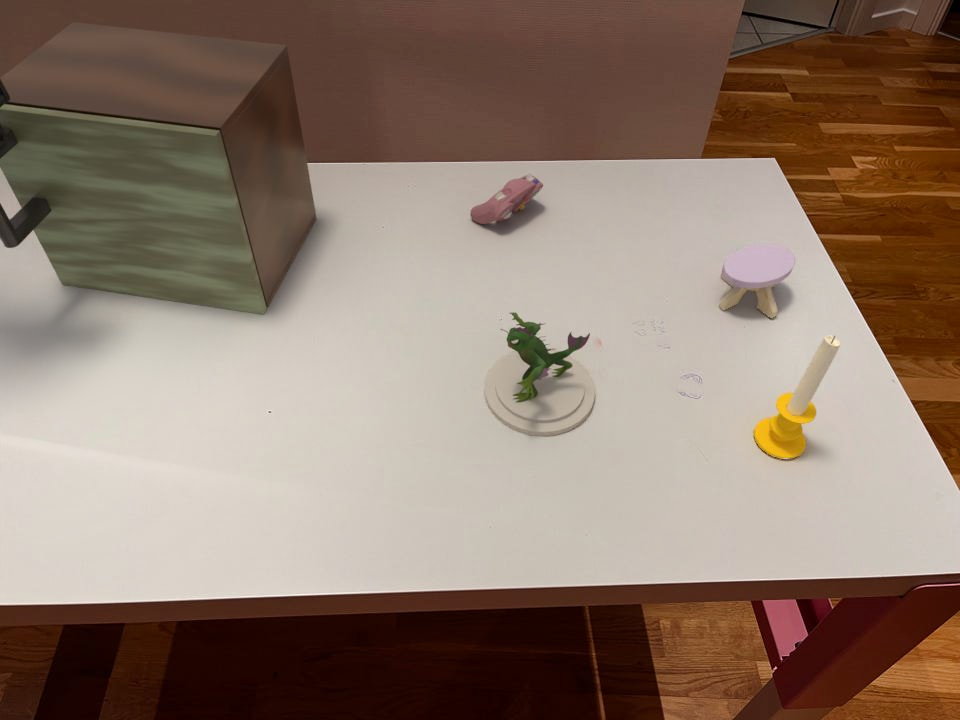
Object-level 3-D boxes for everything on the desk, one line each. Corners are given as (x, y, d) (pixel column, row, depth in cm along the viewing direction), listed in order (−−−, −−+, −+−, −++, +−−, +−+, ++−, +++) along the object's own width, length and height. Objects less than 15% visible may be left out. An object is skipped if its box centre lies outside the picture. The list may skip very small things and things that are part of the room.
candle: (784, 414, 80) (839, 310, 68) (815, 452, 76) (878, 349, 65) (743, 427, 78) (792, 323, 67) (772, 466, 75) (829, 363, 64)
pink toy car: (486, 241, 101) (506, 213, 95) (465, 216, 101) (483, 186, 95) (533, 210, 106) (554, 181, 100) (512, 186, 106) (532, 156, 100)
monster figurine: (480, 354, 85) (482, 287, 77) (583, 350, 85) (596, 283, 78) (488, 439, 77) (491, 373, 69) (603, 433, 77) (618, 368, 70)
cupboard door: (241, 355, 83) (183, 175, 66) (29, 322, 86) (-80, 141, 69) (267, 308, 89) (219, 130, 71) (66, 279, 91) (-27, 100, 74)
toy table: (731, 330, 88) (744, 294, 84) (692, 281, 94) (704, 246, 90) (800, 312, 90) (817, 277, 86) (759, 266, 96) (773, 231, 92)
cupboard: (268, 308, 89) (220, 127, 71) (68, 278, 92) (-26, 97, 74) (317, 219, 101) (287, 45, 83) (138, 195, 104) (73, 21, 86)
